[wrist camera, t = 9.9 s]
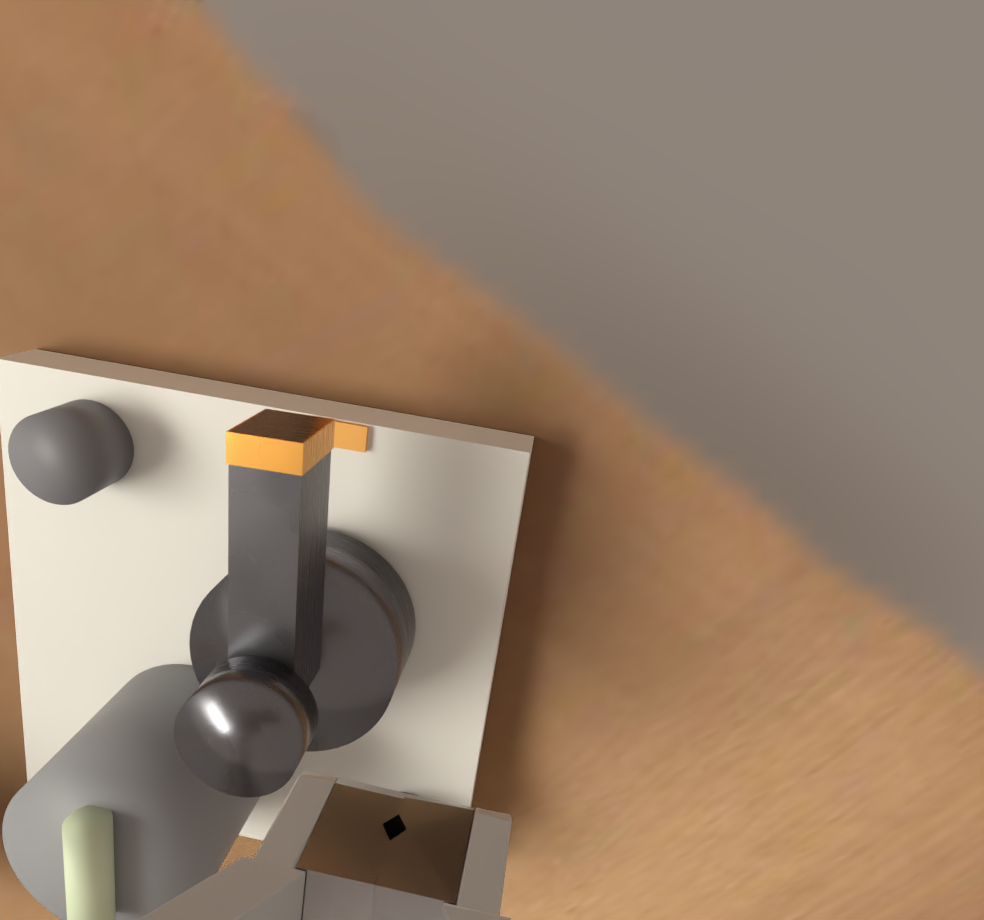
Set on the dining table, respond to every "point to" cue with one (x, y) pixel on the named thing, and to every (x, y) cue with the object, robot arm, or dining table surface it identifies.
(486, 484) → the base
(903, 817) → the dining table surface
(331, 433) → the knob
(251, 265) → the dining table surface
